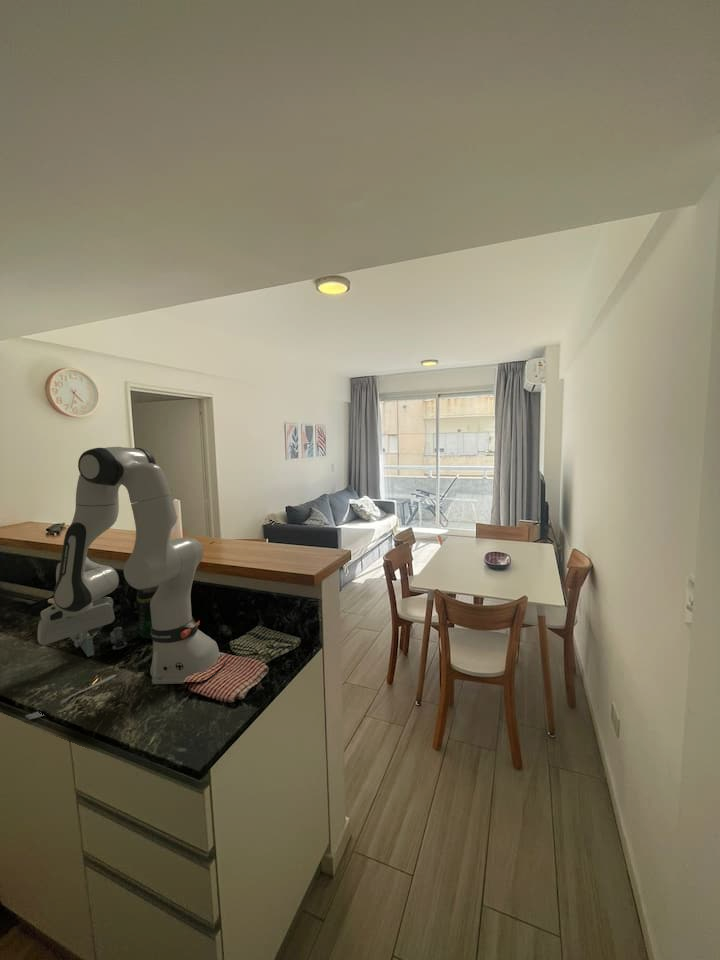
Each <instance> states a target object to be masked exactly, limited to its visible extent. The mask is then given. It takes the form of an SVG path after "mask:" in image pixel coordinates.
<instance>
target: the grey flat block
mask: <svg viewBox="0 0 720 960" xmlns="http://www.w3.org/2000/svg"><path fill="white" fill-rule="evenodd" d="M81 636H82V634H81V633H80V634H78V639H80V638H81ZM84 642H85V645H82V646H80V648H81V649H82V651H83V652H84V654H85V655H86V657H88V658H89V657H92V656H94V655H95V650H94V649H95V648H94V641H93V638H92V636H91V634H89V633H88V635H87V636H86V638H85V640H84Z"/></svg>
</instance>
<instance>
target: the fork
mask: <svg viewBox="0 0 720 960" xmlns="http://www.w3.org/2000/svg"><path fill="white" fill-rule="evenodd" d="M116 676H118V675H117V674H112V675H110V676H108V677H106V678H104V679H102V680H100V681H98V682H97V683H93V684H92V685H90V686H88V687H87V688H84V689H81V690H80V691H77V692H75V693H73V694H71V695H69V696H68V697H67V698H65V699H64V700H62V701H61V702H65V703H67V702H68V701H69V699H71V698H72V697H74V696H76V695H79V694H81V693H83V692H86V691H88V690H90V689H92V688H95V687H97V686H100V685H102V684H104V683H106V682H108V681H109V680H112V679H113V678H115V677H116ZM40 713H41V712H40ZM40 713H39V711H36V712H32V713H30V714H26V715H24V717H25V718H27V719H28V720H33V719H37V718H40V717H44V716H45V715H44V714H43V715H42V713H41V714H40Z"/></svg>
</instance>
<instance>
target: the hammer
mask: <svg viewBox="0 0 720 960" xmlns="http://www.w3.org/2000/svg"><path fill="white" fill-rule="evenodd" d="M109 633H110V641H111V642H110V644H111V645H113V646H112V648H111V649H112V650H113V651H119V650H122V649H125V648H126V647H127V646H128V642H125V639H124V630H123V627H122V626H118V627H117V626H116V627H115V628H113V630H112V631H111V632H109Z"/></svg>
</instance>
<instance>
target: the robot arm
mask: <svg viewBox="0 0 720 960" xmlns="http://www.w3.org/2000/svg"><path fill="white" fill-rule="evenodd" d="M77 467H78V473H79V476H78V478H77V479H78V480H77V486H76V489H75V490H76V491H75V511H74V514H73V519H72V520H71V524H70V525H69V527H67V530H66V532H65V535H64V538H63V539H64V540H63V545H62V552H61V559H60V561H59V562H58V563H57V565H56V569H55V570H56V571H55V582H56V584H55V586H54V590H53V594H52V595H53V601H54V604H52V605H51V606H48V607H47V608H45V609H43V610H41V611H40V617H41V620H40V621H39V622H38V625H37V641H38V643H39V644H40V645H41V646H47V645H50V644H52V643H55V642H59V641H62V640H64V639H68V638H70V639H71V640H72V641H73V643H75V646H74V647H75V648H79V647H81V646H82V645H85V642H84V640H85V638H86V636H87V635H88V634H89V632H88V631H91V630H94V629H99V628H101V627H104V626H106V625H109V624H113V622H114V621H115V619H116V618H115V613H114V608H113V606H114V599H113V598H112V597H108V596H107V595H110V594H111V593H112V592H114V591H115V590H117V588H118V587H119V584H120V576H119V573H118V571H117V570H116V569H115V567H113V566H111V565H107V564H106V565H105V564H99V563H97V562H94V561H92V560H91V559H90V558H89V557H88V556H87V555H88V550H89V548H90V546H91V545H92V543H93V542H94V541H96V539H98V538H99V536H101V535H102V534H104V533H105V532H106V531H108V530H109V529H110V528H112V526H113V525H115V523H116V522H117V519H118V517H119V512H120V511H119V510H120V509H119V507H120V504H119V503H120V502H119V489H120V487H121V486H123V487H124V488H125V489H126V490H127V494H128V498H129V503H130V506H131V511H132V516H133V519H134V525H135V541H134V545H133V549H132V551H131V554H130V556H129V557H128V559H127V560H126V562H125V564H124V567H123V575H124V578H125V580H126V582H127V584H129V586H130V587H132V588H134V589H136V590H137V589H146V588H151V587H155V586H158V585H159V587H158V589H157V591H156V593H155V594H154V595H153V597H152V599H151V602H150V610H151V620H152V625H151V638H150V639H151V640H152V659H151V666H150V670H149V674H150V676H151V684H153V685H168V684H170V685H173V684H184V683H183V681H184V680H185V678H186V677H188V676H190V675H192V674H194V673H197V672H203V671H205V670H207V669H208V668H210V667H211V666H213V665H214V664H215V663H216V661H217V660H218V658H219V656H220V654H226V653H224V652H221V651H220V650H219V646H218V644H217V642H216V640H215V639H212V638H211V637H210V636H208V634H205V633H204V632H203V631H201V630H200V629H199V625H200V624H201V623H200V622H201V620H198V621H197V622H196V619H194V617H193V616H192V603H191V602H192V601H191V599H192V598H191V595H192V594H191V593H192V586H193V582H194V578H195V574H196V571H197V568H198V567H199V564H200V563H201V561H202V560H203V558H204V547H203V546H202V544H201V543H200V541H199V540H198V539H196V538H193V537H181V538H180V537H179V538H175V539H172V540H171V533H172V530H173V529H174V526H175V525H176V523H177V521H178V520H177V519H178V516H177V512H176V509H175V508H176V507H175V504H174V500H173V496H172V492H171V488H170V486H169V482H168V480H167V477H166V475H165V473H164V471H163V469H162V468H161V467H160V466H159V465H158V464H156V459H155V457H154V455H153V454H152V453H151V452H150V451H148V450H146V449H144V448H139V447H123V446H109V447H108V446H107V447H95V448H91V449H90V448H89V449H87V450H86V451H84V452H82V454H81V455H80V457H79V458H78V463H77ZM80 633H81V634H82V636H81V638H80V639H79V640H77V634H80Z"/></svg>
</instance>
